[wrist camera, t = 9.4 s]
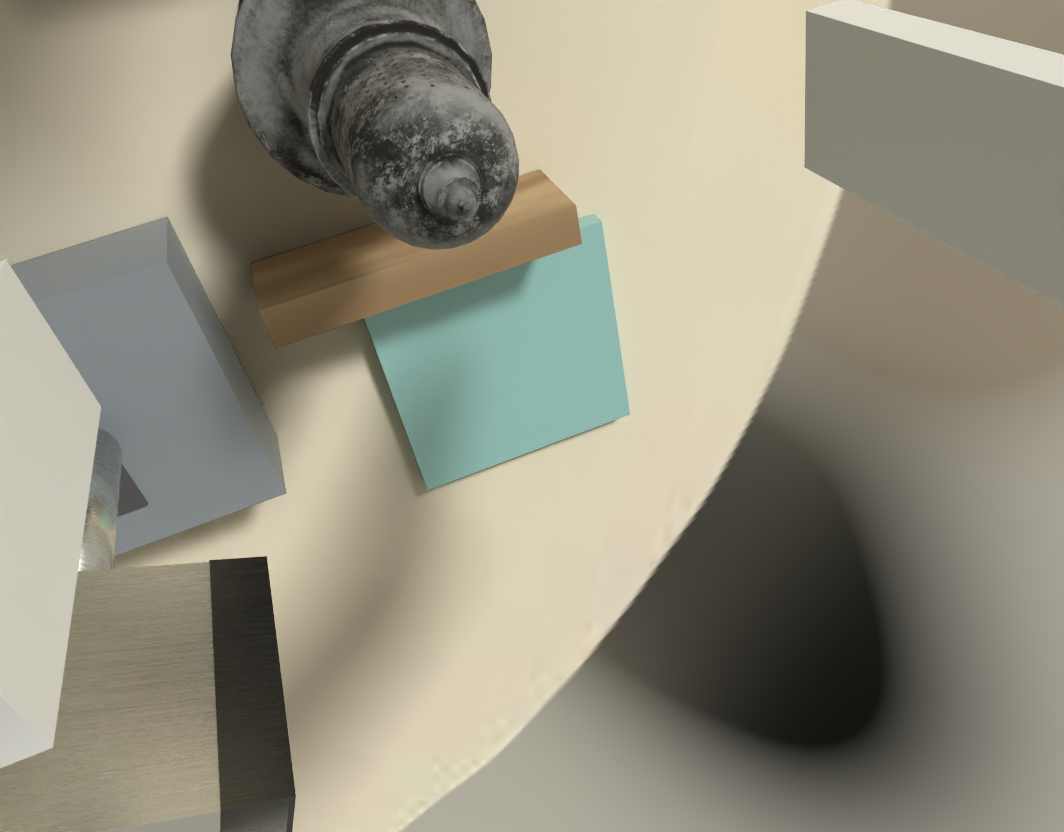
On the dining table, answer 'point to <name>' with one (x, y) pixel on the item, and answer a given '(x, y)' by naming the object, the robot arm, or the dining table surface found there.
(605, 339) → the coaster
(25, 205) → the dining table surface
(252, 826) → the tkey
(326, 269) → the block
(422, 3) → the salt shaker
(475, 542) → the dining table surface
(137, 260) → the block
